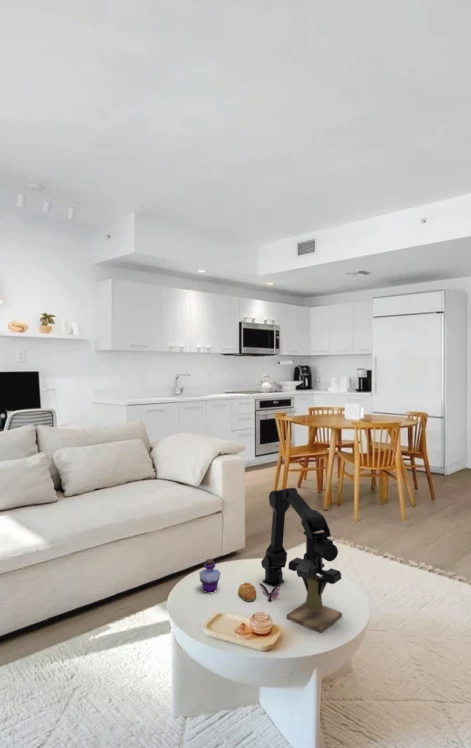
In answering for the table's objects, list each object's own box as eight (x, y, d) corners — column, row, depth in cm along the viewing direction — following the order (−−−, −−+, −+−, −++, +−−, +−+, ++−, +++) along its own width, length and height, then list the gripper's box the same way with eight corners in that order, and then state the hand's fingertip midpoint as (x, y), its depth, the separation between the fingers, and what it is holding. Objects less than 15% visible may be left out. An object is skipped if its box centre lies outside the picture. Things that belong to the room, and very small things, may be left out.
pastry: (259, 601, 190) (259, 591, 190) (242, 603, 188) (242, 594, 188) (253, 590, 199) (253, 581, 199) (236, 592, 197) (236, 582, 197)
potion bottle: (200, 584, 204) (200, 555, 203) (221, 585, 203) (221, 555, 203) (197, 594, 195) (197, 564, 195) (220, 595, 195) (219, 564, 194)
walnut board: (286, 618, 177) (286, 614, 177) (308, 604, 187) (308, 600, 187) (320, 633, 168) (320, 628, 168) (341, 616, 178) (341, 612, 178)
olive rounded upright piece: (314, 600, 182) (314, 570, 181) (326, 607, 177) (326, 576, 176) (301, 605, 178) (301, 575, 178) (313, 612, 173) (313, 581, 173)
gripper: (279, 550, 177) (279, 593, 177) (325, 565, 164) (325, 611, 165) (297, 541, 185) (297, 582, 186) (342, 554, 173) (342, 599, 173)
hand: (314, 593), depth 177 cm, fingers closed on olive rounded upright piece, 4 cm apart
